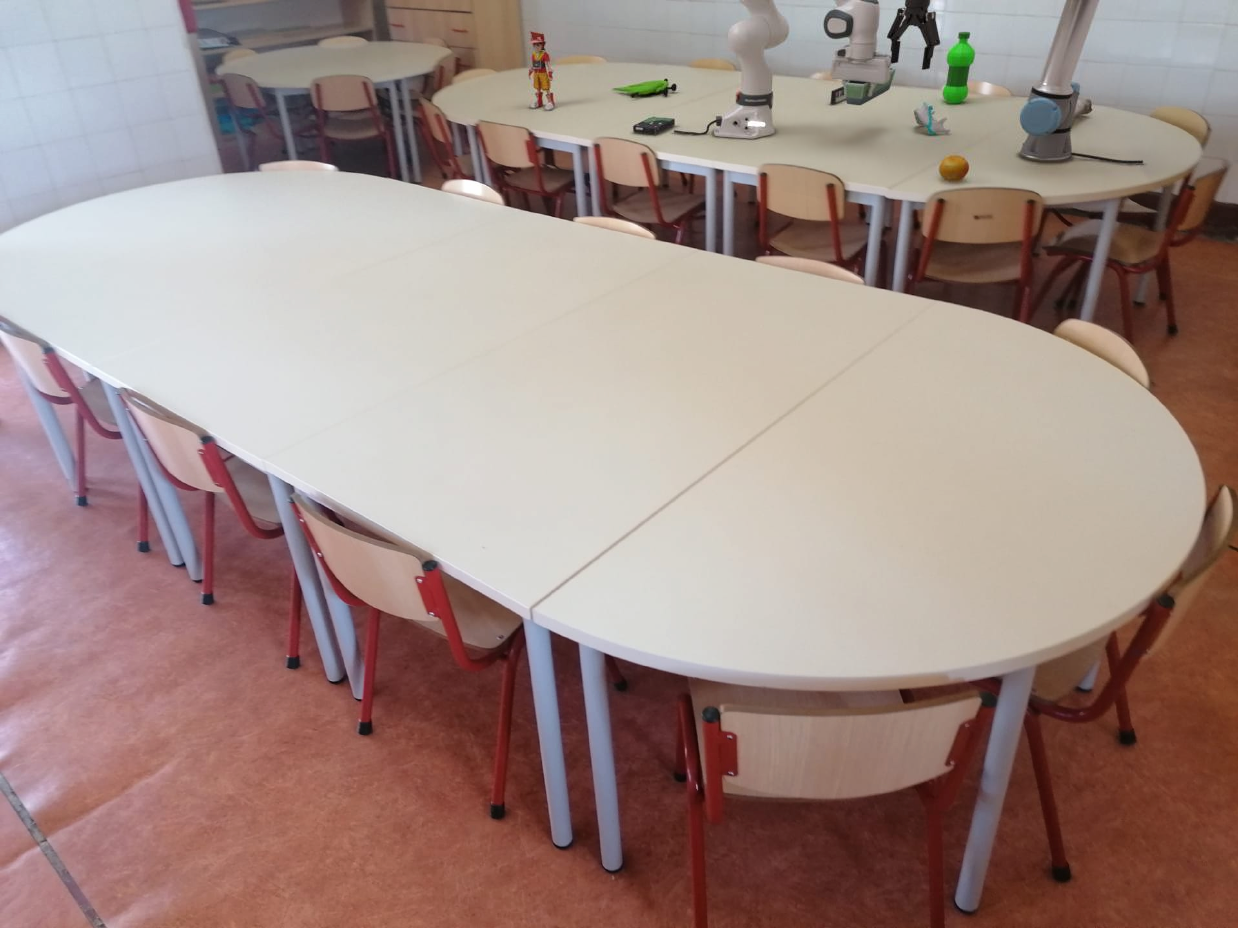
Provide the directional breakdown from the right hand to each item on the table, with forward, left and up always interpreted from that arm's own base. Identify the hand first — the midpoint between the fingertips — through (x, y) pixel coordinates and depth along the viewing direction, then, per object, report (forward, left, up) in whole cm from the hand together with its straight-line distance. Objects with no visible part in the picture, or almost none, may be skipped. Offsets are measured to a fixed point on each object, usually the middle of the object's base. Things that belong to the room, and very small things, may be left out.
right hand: (909, 66), depth 291 cm
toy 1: (+146, -56, -27) cm, 159 cm away
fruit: (-16, +31, -27) cm, 44 cm away
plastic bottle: (-22, -68, -27) cm, 76 cm away
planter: (+12, -16, -13) cm, 24 cm away
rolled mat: (-57, -36, -27) cm, 72 cm away
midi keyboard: (+21, -71, -27) cm, 79 cm away
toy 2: (+109, -84, -27) cm, 141 cm away
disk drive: (+90, -23, -27) cm, 97 cm away
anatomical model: (-11, -26, -27) cm, 39 cm away
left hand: (+16, -8, -11) cm, 20 cm away
